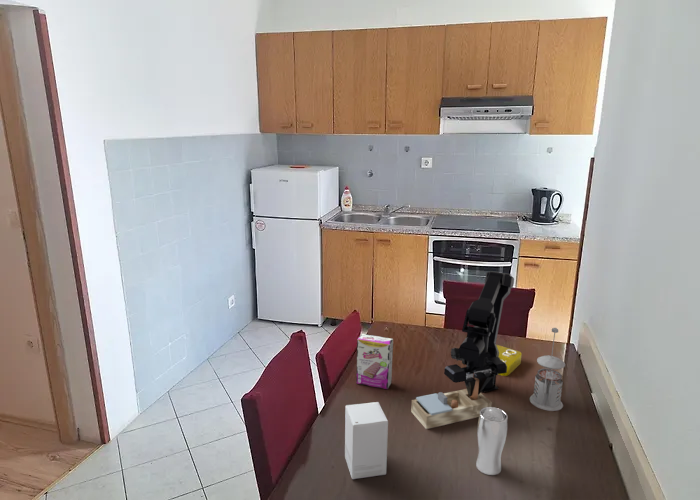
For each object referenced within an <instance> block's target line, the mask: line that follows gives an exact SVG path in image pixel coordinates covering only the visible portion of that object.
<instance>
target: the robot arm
mask: <svg viewBox="0 0 700 500" xmlns="http://www.w3.org/2000/svg"><path fill="white" fill-rule="evenodd" d="M514 284H515V277H513V275H512V274H511V273H506V272H499V271H493V270H490V271H487V272H486V273H485V279H484V284H483V285H484V286H483V288H482V291H481V292H480V295H479V297H478V299H476V300H473V301H472V303H471V304H470V306H469V308H467V309H466V312H465V318H464V321H463V325H462V329H461V332H463V333H466V337H465V339H463V342H462V343H461V344H460V345H459V347H453V348H451V349H450V357H451V358H452V359H453V360H456V361H457V362H459V361H460V362H461V364H462V365H464V367H461V366H459V364H457V363H456V364H450V365H446V366H445V367H444V375H445V376H446V377H447V378H448V379H449V380H450V381H451V382H453V383H462V382H463V383H464V385H465V387H466V388H465V389H467V391H468V394H469V396H472V394H473V390H474V386H475V382H476V379H474V378H477V379H479V389H478V395H479V394H480V393H481V394H482V393H486V392H492V391H496V390H499V387H498V386H497V385H496V383H497V376H499V375H498V374H502V373H506V372H507V365H506V363H504V362H503V361H501V360H500V357H499V351H498V348H497V346H496V345H497V338H498V333H499V327H500V321H501V316H502V311H503V307H504V306H503V305H504V301H505V300H506V298H507V297H508V296H509V295H510V294H511V290H512V289H513V288H514Z"/></svg>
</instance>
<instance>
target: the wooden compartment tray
mask: <svg viewBox="0 0 700 500" xmlns="http://www.w3.org/2000/svg"><path fill="white" fill-rule="evenodd" d="M443 394H444V395H445V396H446V397H447V404H448V405H449V406H450V407H451V408H452V411H449V412H445V413H440V414H436V415H430V413H429V412H428V411H427V410H426V409H425V408H424V407H423V406H422V405H421V404H420V403H419V402H418V401H417V399H416V398H415V399H411V407H410V408H411V409H410V411H411V414H412V415H414V417H415V419H417V421H419V423H420V424H421V425H422V426H423V427H424V429H425V430H428V429H429V430H430V429H434V428H438V427H441V426H445V425H450V424H453V423H458V422H463V421H466V420H472V419H475V418H479V414H480V410H481V409H482V408H485V407H492V406H493V405H492V404H493V403H492V401H491V400H490V399H489V398H488V397H486V396H485V395H484V394H483V393H482V392H481V393H480V394H479V395H478V399H477V400H471V399H470V396H469V394H468V391H467V388H464V389H460V390H454V391H449V392H444V393H443Z"/></svg>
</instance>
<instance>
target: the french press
mask: <svg viewBox="0 0 700 500" xmlns="http://www.w3.org/2000/svg"><path fill="white" fill-rule="evenodd" d="M551 328H552V329H551V332H552V333H554V334H553V340H552V349H551V355H542V356H539V357H537V359H536V361H537V362H536V363H537V364H538V365H539V366H541V367H542V368H541V369H538V370H537V371H536V375H535V377H534V387H533V394H532V395H530V397H529V402H530V403H531V404H532V405H533V406H534V407H536V408H538V409H541V410H544V411H549V412H554V411H556V412H557V411H560V410H562V409H563V407H564V404H563V402H562V401H561V400H562V399H561V397H562V393H563V392H562V389H563V383H564V382H563V381H564V380H563V375H562V374H561V373H560V372H559V371H557V370H561V369H563V368H565V367H566V363H565V362H564V361H563V360H562V359H560V358H559V357H558V356H554V355H553V353H554V344H555V338H556V334H557V333H559V329H558V328H557V327H551Z"/></svg>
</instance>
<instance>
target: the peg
mask: <svg viewBox="0 0 700 500" xmlns="http://www.w3.org/2000/svg"><path fill="white" fill-rule="evenodd" d="M473 378H474V377H473ZM474 379H476V382H475V386H474V390H473V394H472V396H470V399H471V400H477V399H478V389H479V379H477V378H474Z"/></svg>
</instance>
